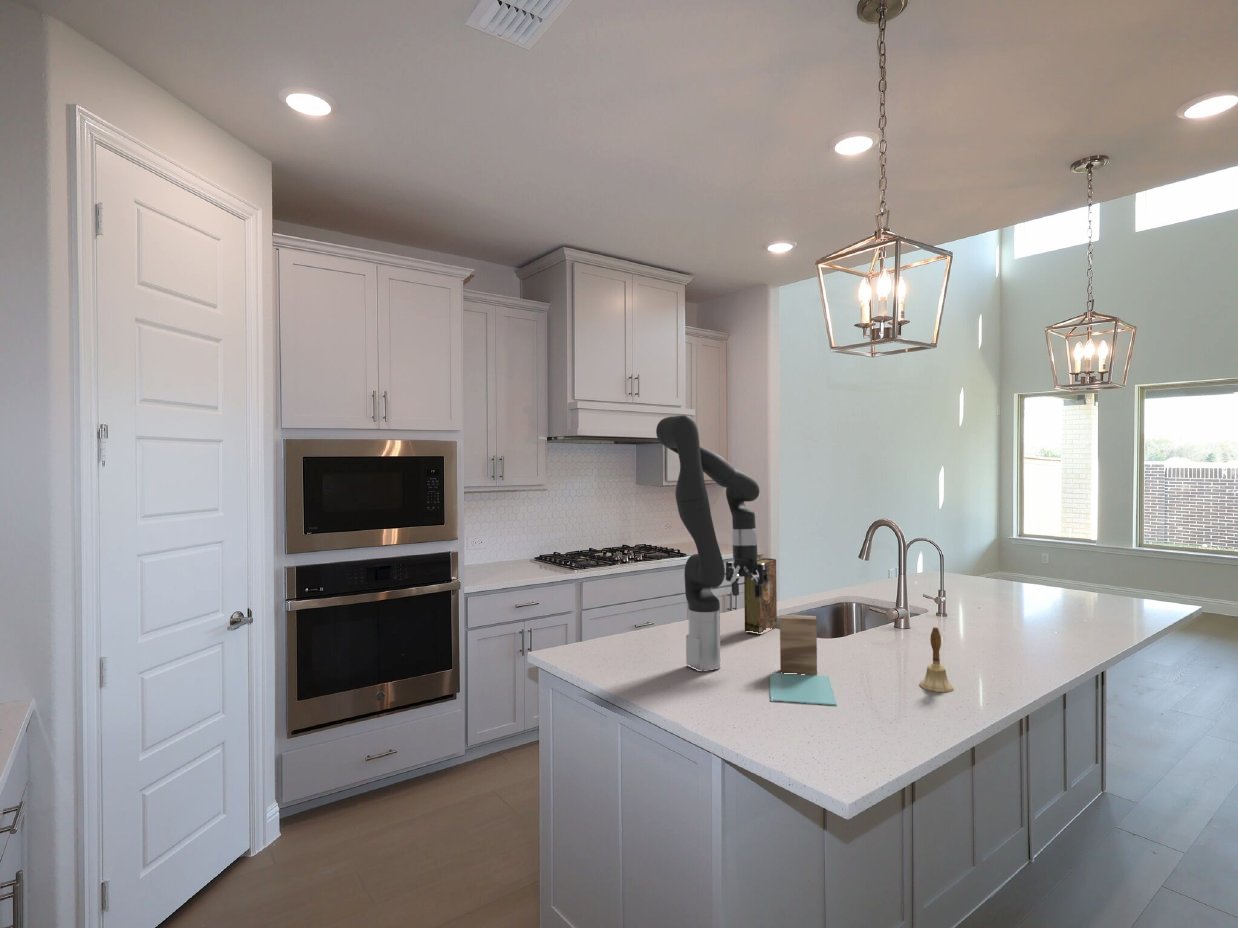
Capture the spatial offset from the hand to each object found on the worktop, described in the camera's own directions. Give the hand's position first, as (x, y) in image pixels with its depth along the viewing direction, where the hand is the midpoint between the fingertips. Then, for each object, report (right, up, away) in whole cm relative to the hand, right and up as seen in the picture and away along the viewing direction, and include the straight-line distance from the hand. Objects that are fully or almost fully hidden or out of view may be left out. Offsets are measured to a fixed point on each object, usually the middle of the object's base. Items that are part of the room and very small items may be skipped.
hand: (747, 596), depth 201 cm
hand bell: (+46, -19, -26) cm, 56 cm away
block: (+12, -19, -13) cm, 26 cm away
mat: (+9, -19, -27) cm, 34 cm away
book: (+12, -20, +36) cm, 42 cm away
